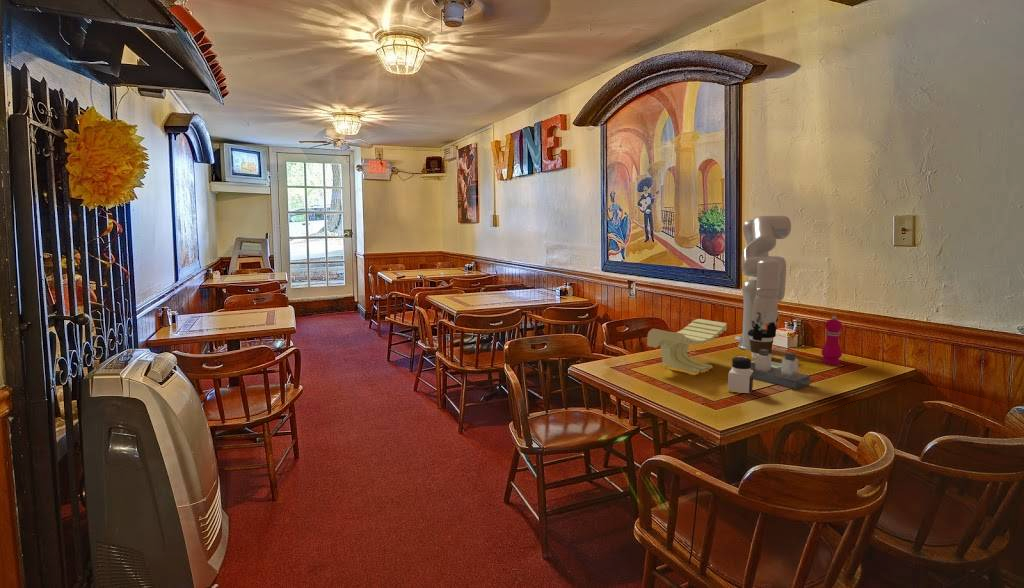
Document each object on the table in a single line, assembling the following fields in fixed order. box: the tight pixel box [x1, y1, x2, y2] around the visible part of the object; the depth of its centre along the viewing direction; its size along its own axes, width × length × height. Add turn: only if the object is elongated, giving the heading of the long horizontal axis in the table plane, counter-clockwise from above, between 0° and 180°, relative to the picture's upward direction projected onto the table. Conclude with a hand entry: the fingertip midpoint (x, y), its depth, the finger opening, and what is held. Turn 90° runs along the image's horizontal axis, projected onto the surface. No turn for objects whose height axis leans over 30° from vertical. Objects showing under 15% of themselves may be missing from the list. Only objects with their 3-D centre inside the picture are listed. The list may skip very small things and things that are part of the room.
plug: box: [754, 349, 773, 372], centre depth 207 cm, size 4×4×10 cm
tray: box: [751, 360, 782, 369], centre depth 220 cm, size 11×11×2 cm
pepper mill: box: [821, 315, 843, 366], centre depth 224 cm, size 7×7×20 cm
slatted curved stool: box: [646, 318, 728, 373], centre depth 220 cm, size 30×16×18 cm, turn 127°
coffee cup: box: [748, 328, 777, 360], centre depth 233 cm, size 11×11×12 cm
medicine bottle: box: [727, 356, 754, 394], centre depth 192 cm, size 7×7×12 cm
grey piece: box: [751, 352, 811, 391], centre depth 204 cm, size 24×10×12 cm, turn 36°
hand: (764, 337), depth 206 cm, fingers open, 9 cm apart
